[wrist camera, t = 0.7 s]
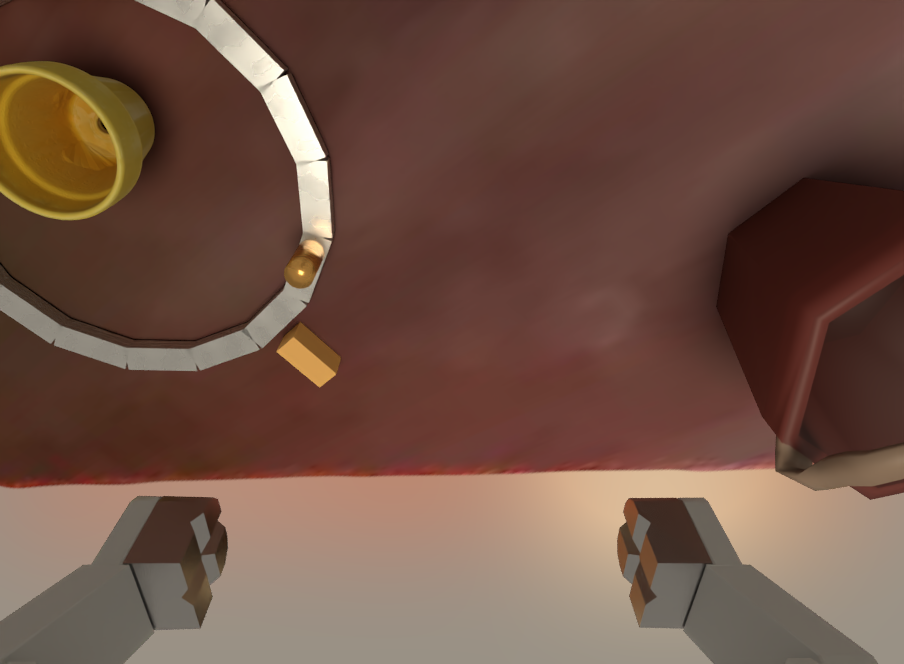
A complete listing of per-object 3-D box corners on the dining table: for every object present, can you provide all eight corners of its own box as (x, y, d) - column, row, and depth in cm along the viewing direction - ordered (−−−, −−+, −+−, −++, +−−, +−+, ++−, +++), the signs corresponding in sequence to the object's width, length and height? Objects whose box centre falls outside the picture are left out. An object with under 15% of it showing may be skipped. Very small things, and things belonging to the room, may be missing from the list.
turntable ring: (-182, -63, 41) (-281, -74, 36) (316, -43, 42) (297, -50, 37) (-9, 358, 58) (-57, 396, 53) (343, 365, 59) (333, 403, 54)
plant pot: (106, 204, 51) (38, 244, 43) (18, 88, 47) (-78, 107, 38) (204, 154, 49) (154, 185, 41) (122, 28, 45) (47, 33, 36)
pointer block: (283, 336, 58) (276, 351, 55) (300, 321, 57) (293, 336, 55) (324, 370, 60) (319, 387, 57) (341, 357, 59) (336, 373, 57)
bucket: (683, 386, 62) (816, 594, 40) (655, 187, 51) (815, 321, 29) (930, 324, 58) (1221, 513, 37) (953, 99, 48) (1379, 175, 26)
